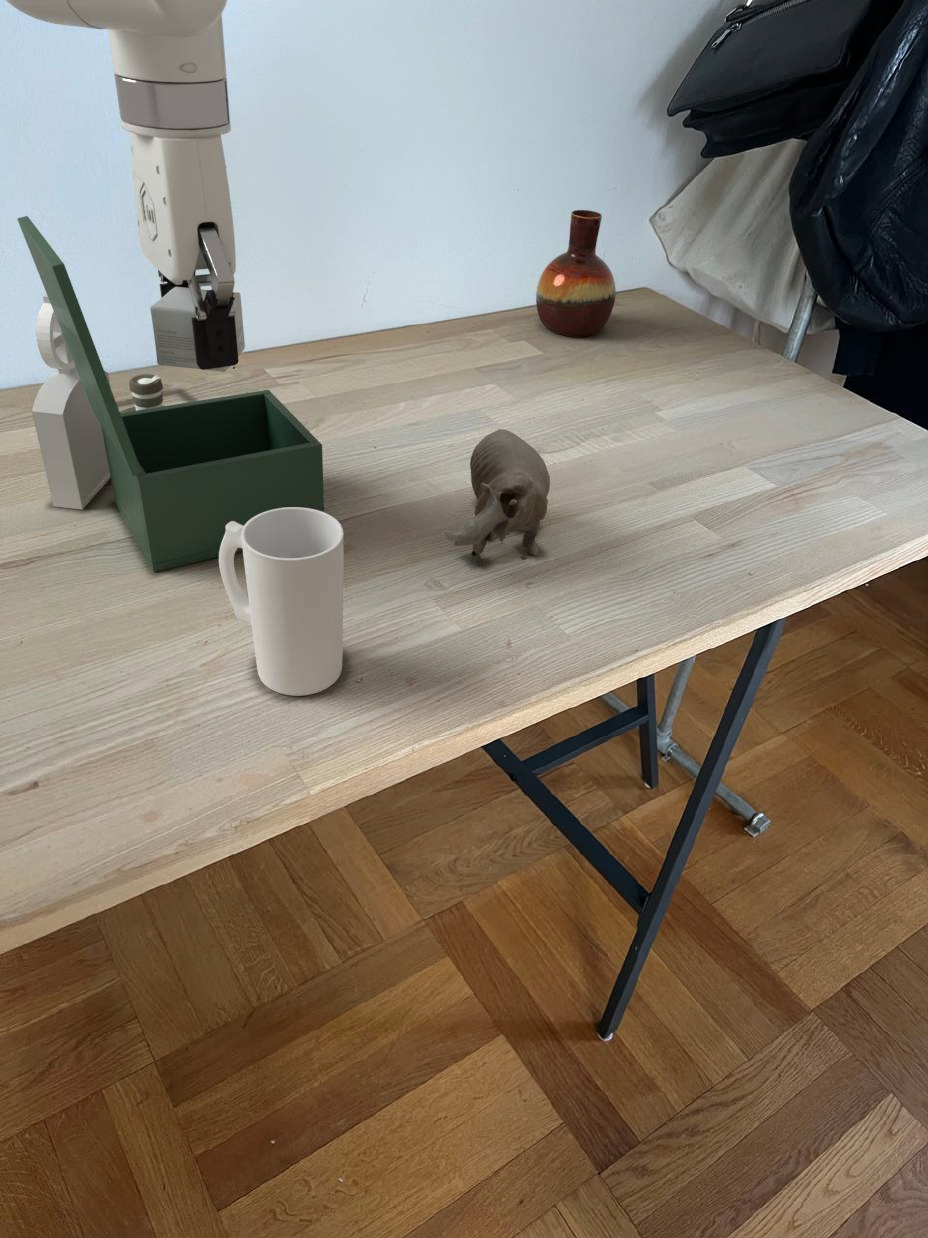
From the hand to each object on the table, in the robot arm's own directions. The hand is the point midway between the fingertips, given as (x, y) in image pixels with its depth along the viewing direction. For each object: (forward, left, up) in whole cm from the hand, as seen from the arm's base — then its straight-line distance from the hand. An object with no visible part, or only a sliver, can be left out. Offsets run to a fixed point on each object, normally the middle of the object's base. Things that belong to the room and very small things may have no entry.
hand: (201, 346), depth 76 cm
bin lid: (-9, 0, +1) cm, 9 cm away
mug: (-3, -22, -16) cm, 28 cm away
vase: (+62, +30, -16) cm, 71 cm away
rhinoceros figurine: (+21, -15, -16) cm, 31 cm away
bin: (0, 0, -16) cm, 16 cm away
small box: (0, 0, -1) cm, 1 cm away
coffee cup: (0, +22, -16) cm, 27 cm away
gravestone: (-9, +11, -16) cm, 22 cm away
